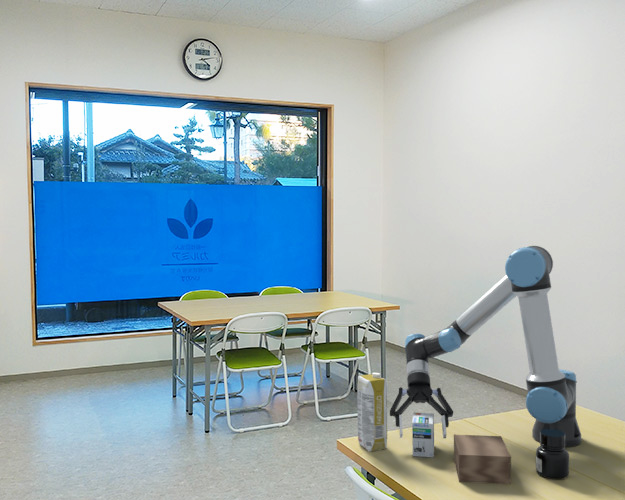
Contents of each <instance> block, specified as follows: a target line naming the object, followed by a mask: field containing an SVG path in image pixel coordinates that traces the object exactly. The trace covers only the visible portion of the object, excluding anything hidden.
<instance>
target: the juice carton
mask: <svg viewBox="0 0 625 500" xmlns="http://www.w3.org/2000/svg"><path fill="white" fill-rule="evenodd" d="M356 389H357V390H356V391H357V399H356V400H357V440H358V444H359V445H360V446H361V447H362V448H364V449H366V450H367V451H368V452H374V451H380V450H386V449H387V446H388V386H387V379H386V378H383V377H381V373H379V372H372V373H370V374H363V375H361V374H360V375H358V376H357V388H356Z"/></svg>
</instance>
